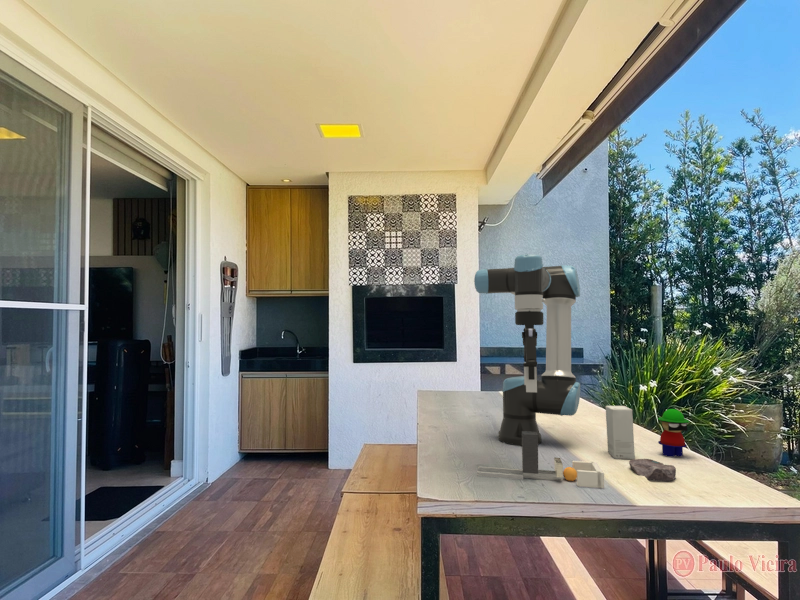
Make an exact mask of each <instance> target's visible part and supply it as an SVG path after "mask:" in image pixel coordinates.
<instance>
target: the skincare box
mask: <svg viewBox="0 0 800 600" xmlns="http://www.w3.org/2000/svg"><path fill="white" fill-rule="evenodd" d="M633 418H634V417H633V409H632V408H629V407H627V406H626V405H605V421H606V422H605V423H606V437H607V438H606V439H607V441H606V442H607V453H608V454H609V455H610V456H611V457H612V458H613V459H615V460H618V459H619V460H633V459H636V457H635V453H636V452H635V438H634V437H635V435H634V420H633Z"/></svg>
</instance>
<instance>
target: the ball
mask: <svg viewBox="0 0 800 600" xmlns="http://www.w3.org/2000/svg"><path fill="white" fill-rule="evenodd" d="M563 478H564V479H565V480H566V481H569V482H574V481H575V480H577V472H576V470H575V469H574V468H572V467H571V466H567V467H565V468H563Z"/></svg>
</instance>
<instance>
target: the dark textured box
mask: <svg viewBox="0 0 800 600" xmlns="http://www.w3.org/2000/svg"><path fill="white" fill-rule="evenodd" d="M553 459H554V461H553V463H554V466H553V467H554V468H553V469H554V470H548V469H547V470H546V469H545V470H544V469H539V444H538V434H537V432H529V431H522V445H521V463H522V464H521V468H522V469H521V470H522V474H521V475H523V479H533V480H534V479H535V480H547V481H559V482H562V481H563V478H564V476H563V471H564V467H563V466H564V465H563V462H562V459H561V457H554V458H553Z"/></svg>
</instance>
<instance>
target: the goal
mask: <svg viewBox="0 0 800 600" xmlns="http://www.w3.org/2000/svg"><path fill="white" fill-rule="evenodd" d="M571 463H572V468H574V469H575V470H576V472H577V478H576V486H577V487H579V488H581V487H583V488H593V489H594V488H595V489H605V472H604V470H603V469H602V468H601V466H600V465H599V463H598V462H597V461H584V460H583V461H582V460H572V462H571Z"/></svg>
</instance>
